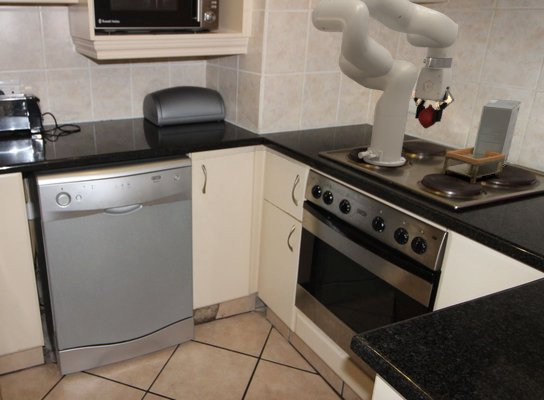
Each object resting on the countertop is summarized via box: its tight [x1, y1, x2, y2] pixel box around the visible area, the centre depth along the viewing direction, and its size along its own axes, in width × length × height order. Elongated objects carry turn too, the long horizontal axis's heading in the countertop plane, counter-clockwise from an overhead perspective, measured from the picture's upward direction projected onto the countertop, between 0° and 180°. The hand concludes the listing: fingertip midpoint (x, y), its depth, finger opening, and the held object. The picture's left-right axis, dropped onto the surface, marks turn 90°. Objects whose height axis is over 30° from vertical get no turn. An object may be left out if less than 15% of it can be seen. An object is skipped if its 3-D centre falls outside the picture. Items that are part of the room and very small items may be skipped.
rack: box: [441, 146, 506, 185], centre depth 141 cm, size 12×10×7 cm
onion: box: [417, 104, 437, 129], centre depth 158 cm, size 6×6×8 cm
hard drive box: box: [473, 98, 522, 176], centre depth 146 cm, size 16×8×20 cm, turn 139°
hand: (427, 119), depth 158 cm, fingers closed on onion, 5 cm apart
